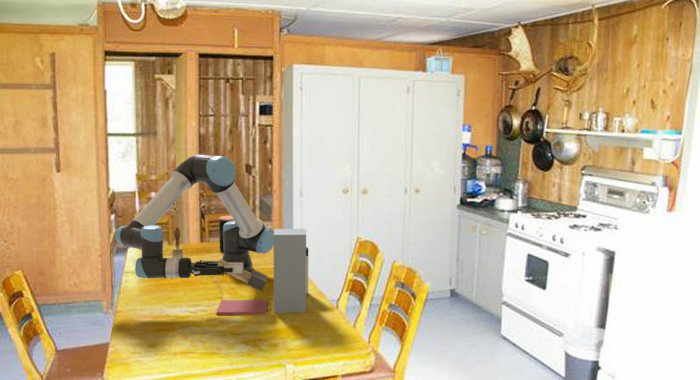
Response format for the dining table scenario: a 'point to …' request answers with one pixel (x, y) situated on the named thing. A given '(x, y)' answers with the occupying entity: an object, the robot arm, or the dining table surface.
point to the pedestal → (289, 270)
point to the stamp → (248, 276)
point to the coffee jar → (222, 221)
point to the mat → (242, 307)
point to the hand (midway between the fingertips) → (242, 267)
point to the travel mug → (306, 271)
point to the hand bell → (177, 246)
